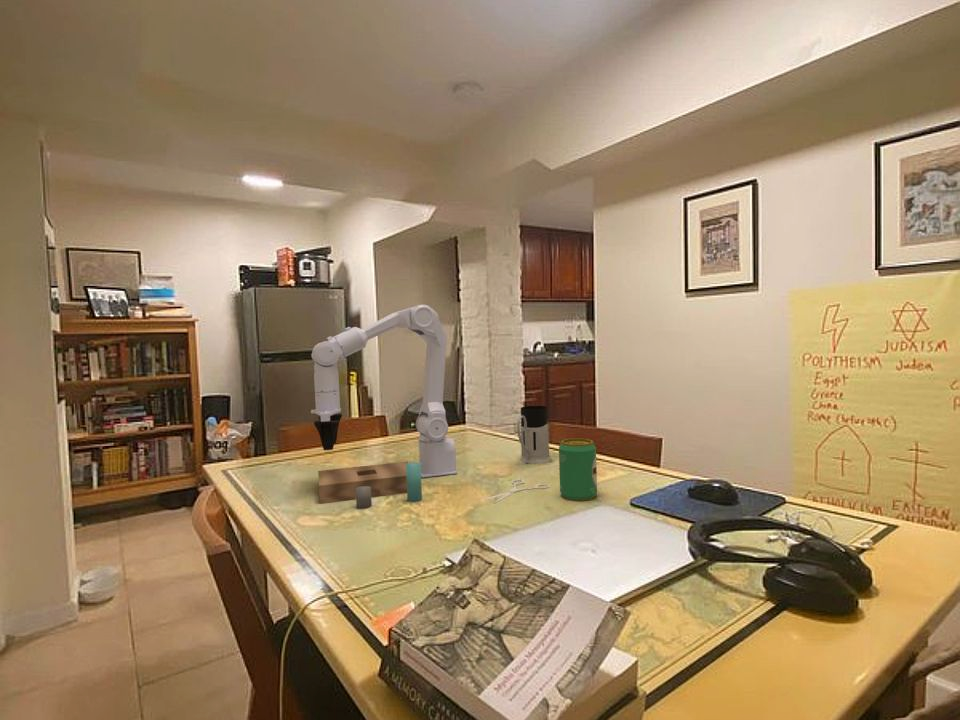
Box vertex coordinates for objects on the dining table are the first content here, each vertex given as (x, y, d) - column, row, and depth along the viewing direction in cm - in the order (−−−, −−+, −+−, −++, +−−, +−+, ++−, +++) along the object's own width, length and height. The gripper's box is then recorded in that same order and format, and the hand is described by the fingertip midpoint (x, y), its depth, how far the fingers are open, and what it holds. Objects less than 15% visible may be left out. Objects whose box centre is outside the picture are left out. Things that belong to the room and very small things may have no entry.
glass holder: (556, 458, 152) (554, 406, 151) (534, 469, 140) (532, 413, 139) (528, 455, 156) (527, 404, 156) (505, 466, 144) (503, 411, 144)
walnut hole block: (407, 476, 136) (407, 461, 136) (418, 491, 123) (417, 474, 123) (318, 487, 130) (318, 470, 129) (319, 503, 116) (319, 485, 116)
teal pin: (420, 496, 119) (419, 461, 118) (423, 501, 116) (421, 464, 115) (406, 498, 118) (404, 463, 117) (408, 502, 115) (407, 466, 114)
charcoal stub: (370, 503, 115) (370, 485, 115) (372, 507, 112) (371, 489, 112) (355, 505, 114) (355, 487, 114) (357, 509, 111) (356, 491, 111)
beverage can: (597, 502, 111) (596, 445, 110) (559, 501, 112) (557, 445, 112) (596, 490, 119) (595, 438, 118) (561, 490, 120) (559, 437, 120)
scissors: (555, 483, 125) (504, 505, 109) (555, 486, 125) (504, 509, 109) (518, 477, 132) (466, 497, 116) (518, 480, 132) (466, 500, 116)
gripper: (313, 389, 135) (316, 442, 135) (305, 395, 121) (308, 454, 121) (342, 387, 136) (345, 440, 137) (337, 393, 122) (340, 451, 122)
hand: (330, 446), depth 129 cm, fingers open, 7 cm apart
